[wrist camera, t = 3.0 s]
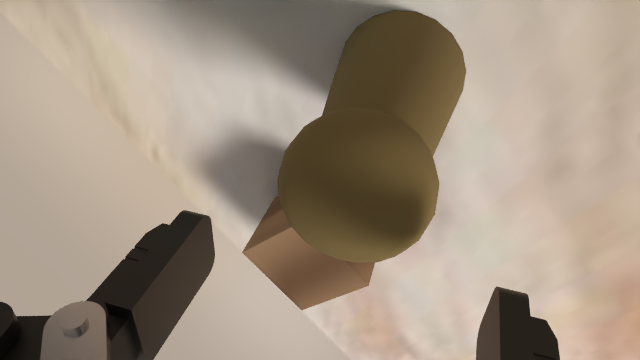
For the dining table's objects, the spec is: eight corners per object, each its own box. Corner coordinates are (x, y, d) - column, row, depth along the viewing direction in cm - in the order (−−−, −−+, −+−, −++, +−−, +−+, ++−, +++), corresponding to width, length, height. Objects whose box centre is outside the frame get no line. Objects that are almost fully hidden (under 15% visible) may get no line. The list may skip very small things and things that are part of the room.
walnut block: (274, 197, 30) (242, 252, 26) (332, 163, 27) (306, 219, 23) (325, 250, 31) (301, 310, 27) (385, 223, 28) (368, 285, 25)
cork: (369, 143, 25) (307, 301, 17) (317, 41, 23) (214, 165, 14) (483, 108, 22) (478, 278, 14) (438, -13, 20) (398, 102, 11)
